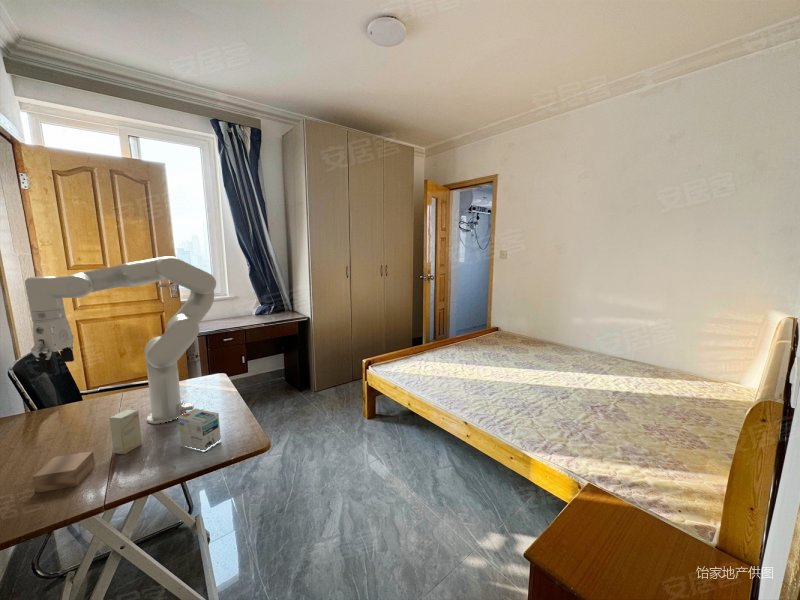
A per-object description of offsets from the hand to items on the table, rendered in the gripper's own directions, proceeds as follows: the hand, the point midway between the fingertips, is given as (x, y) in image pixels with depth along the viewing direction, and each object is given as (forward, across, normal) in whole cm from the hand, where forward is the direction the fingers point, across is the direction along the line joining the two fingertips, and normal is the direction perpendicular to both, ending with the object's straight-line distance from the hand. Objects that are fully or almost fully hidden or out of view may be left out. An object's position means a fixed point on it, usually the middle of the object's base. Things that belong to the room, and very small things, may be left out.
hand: (58, 366), depth 109 cm
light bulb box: (+28, -14, -43) cm, 53 cm away
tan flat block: (+27, -23, -11) cm, 37 cm away
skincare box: (+27, -10, -20) cm, 35 cm away
